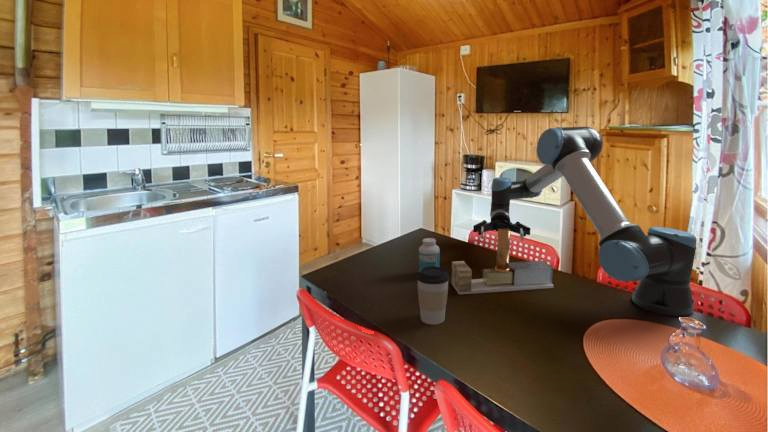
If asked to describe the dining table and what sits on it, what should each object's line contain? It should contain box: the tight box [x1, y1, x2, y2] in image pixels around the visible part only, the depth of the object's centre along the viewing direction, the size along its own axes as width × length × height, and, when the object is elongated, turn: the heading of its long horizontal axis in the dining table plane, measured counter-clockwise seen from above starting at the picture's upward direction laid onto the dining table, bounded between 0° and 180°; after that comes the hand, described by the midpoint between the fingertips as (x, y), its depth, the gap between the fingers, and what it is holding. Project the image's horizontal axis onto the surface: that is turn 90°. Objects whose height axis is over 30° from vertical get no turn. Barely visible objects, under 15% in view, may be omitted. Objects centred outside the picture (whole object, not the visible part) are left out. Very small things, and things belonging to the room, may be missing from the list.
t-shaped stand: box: [482, 228, 514, 285], centre depth 136 cm, size 5×20×18 cm, turn 96°
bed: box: [451, 278, 555, 295], centre depth 138 cm, size 9×32×1 cm, turn 96°
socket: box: [451, 260, 473, 292], centre depth 136 cm, size 9×4×7 cm, turn 6°
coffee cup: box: [416, 266, 450, 325], centre depth 116 cm, size 9×9×15 cm
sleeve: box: [509, 260, 554, 286], centre depth 139 cm, size 7×13×7 cm, turn 96°
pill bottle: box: [418, 237, 441, 273], centre depth 147 cm, size 8×7×14 cm
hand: (502, 236), depth 144 cm, fingers open, 13 cm apart
